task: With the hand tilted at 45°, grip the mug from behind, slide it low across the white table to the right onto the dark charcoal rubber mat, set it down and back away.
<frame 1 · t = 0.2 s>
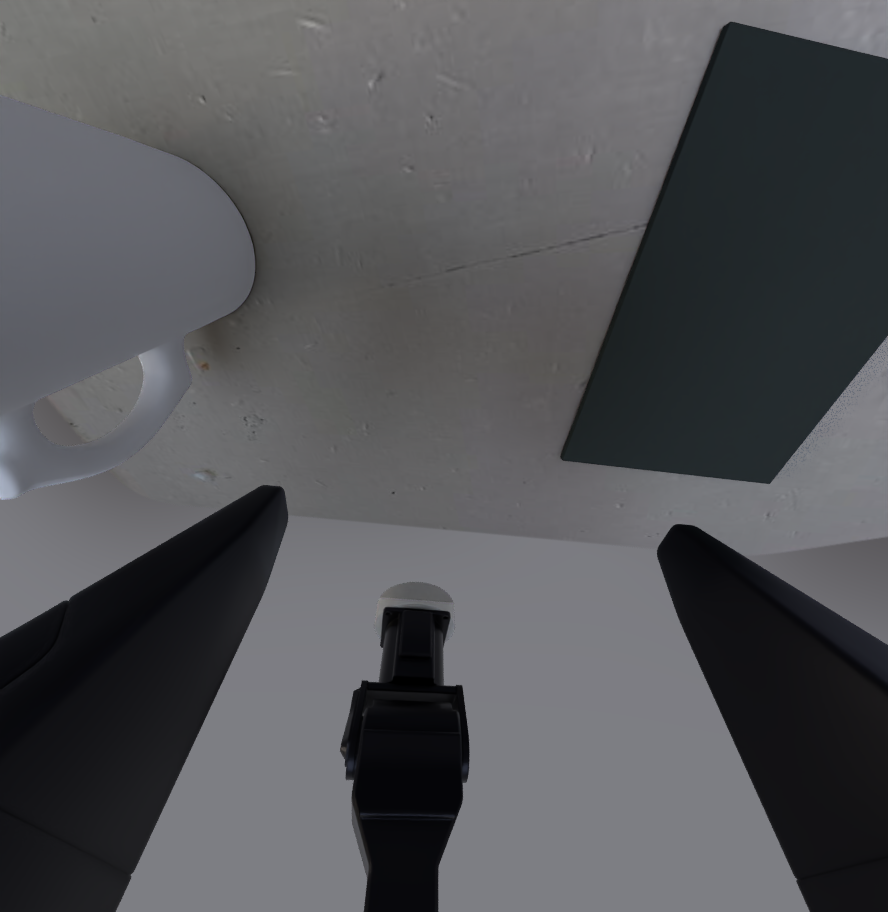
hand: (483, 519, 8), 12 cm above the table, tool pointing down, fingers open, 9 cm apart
mug: (197, 283, 16), on the table
mat: (750, 322, 18), on the table
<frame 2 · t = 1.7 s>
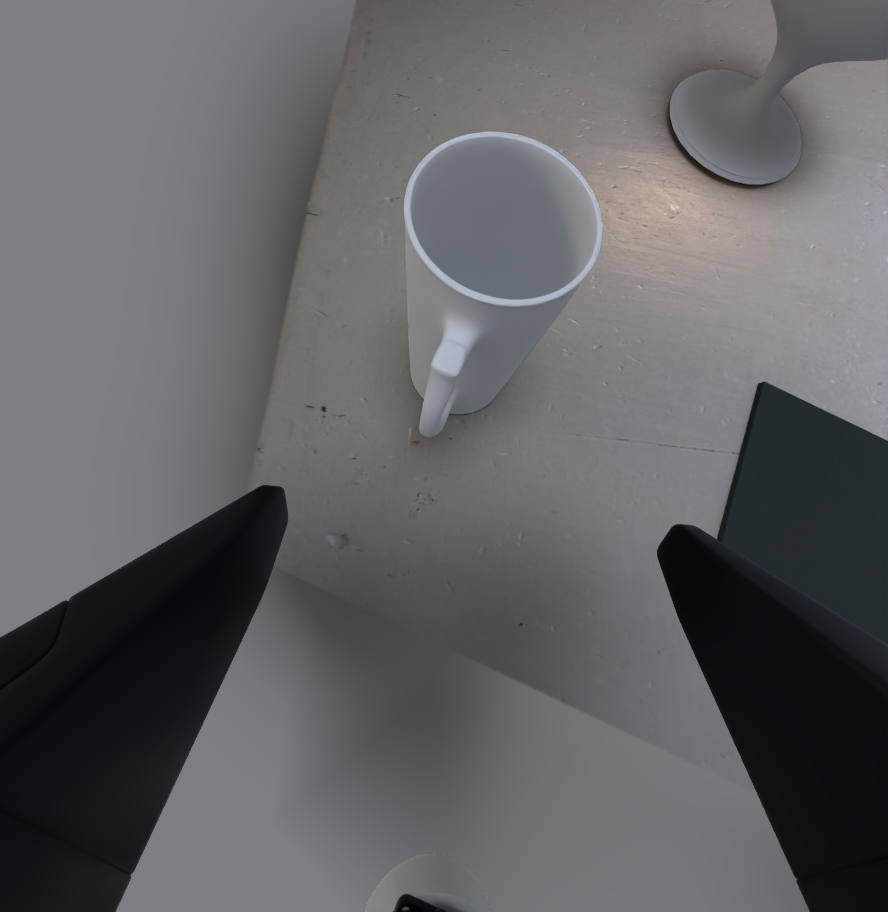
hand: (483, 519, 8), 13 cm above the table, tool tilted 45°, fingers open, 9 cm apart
mug: (447, 392, 23), on the table
chalice: (730, 133, 30), on the table
mat: (822, 539, 24), on the table
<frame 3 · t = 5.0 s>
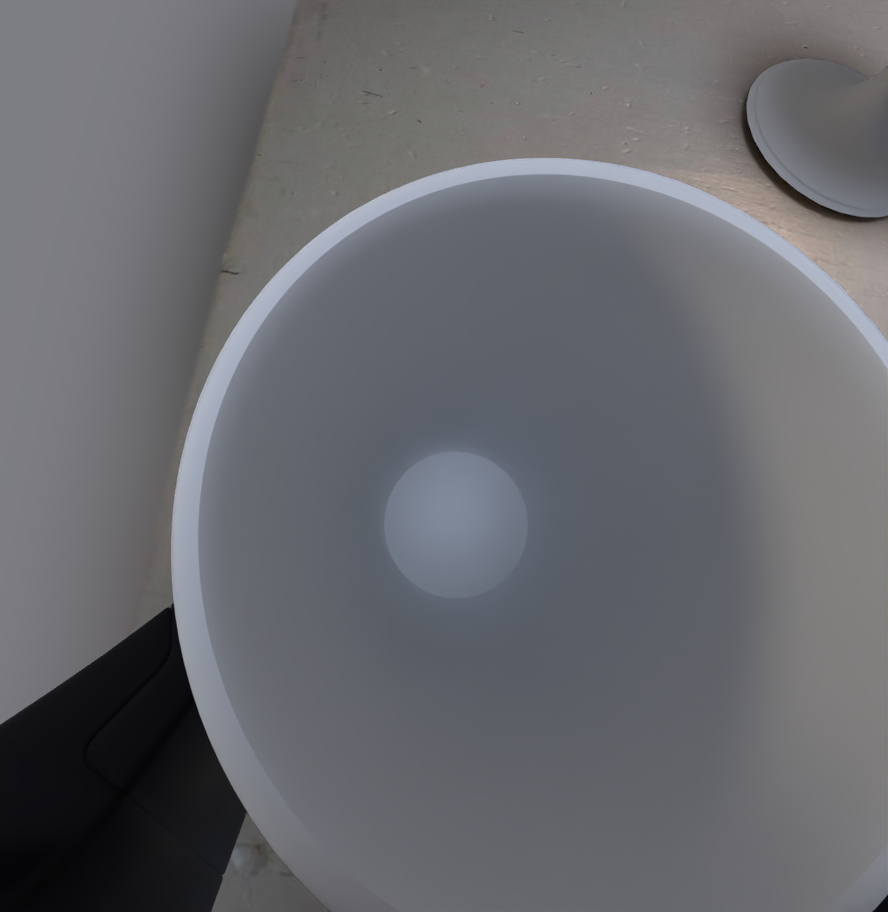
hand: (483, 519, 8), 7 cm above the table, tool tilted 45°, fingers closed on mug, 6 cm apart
mug: (439, 560, 14), on the table, touching gripper
chalice: (825, 145, 22), on the table
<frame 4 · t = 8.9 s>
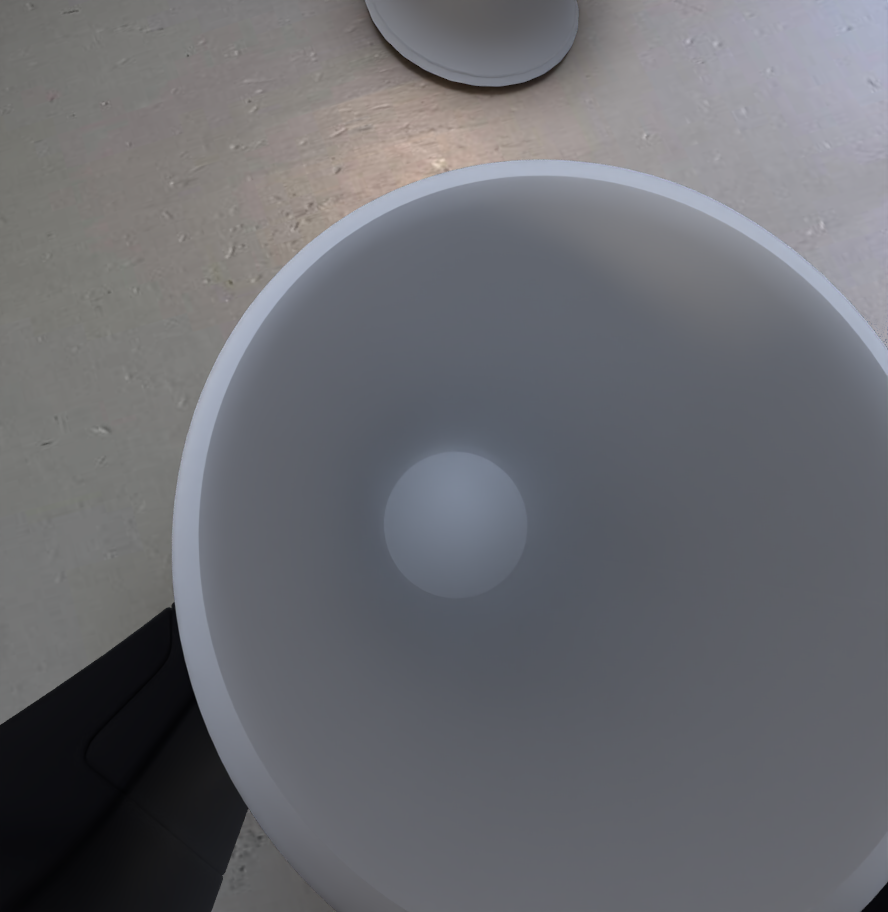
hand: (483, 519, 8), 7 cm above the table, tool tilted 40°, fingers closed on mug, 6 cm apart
mug: (439, 560, 14), point 1 cm above the table, touching gripper
chalice: (472, 11, 20), on the table
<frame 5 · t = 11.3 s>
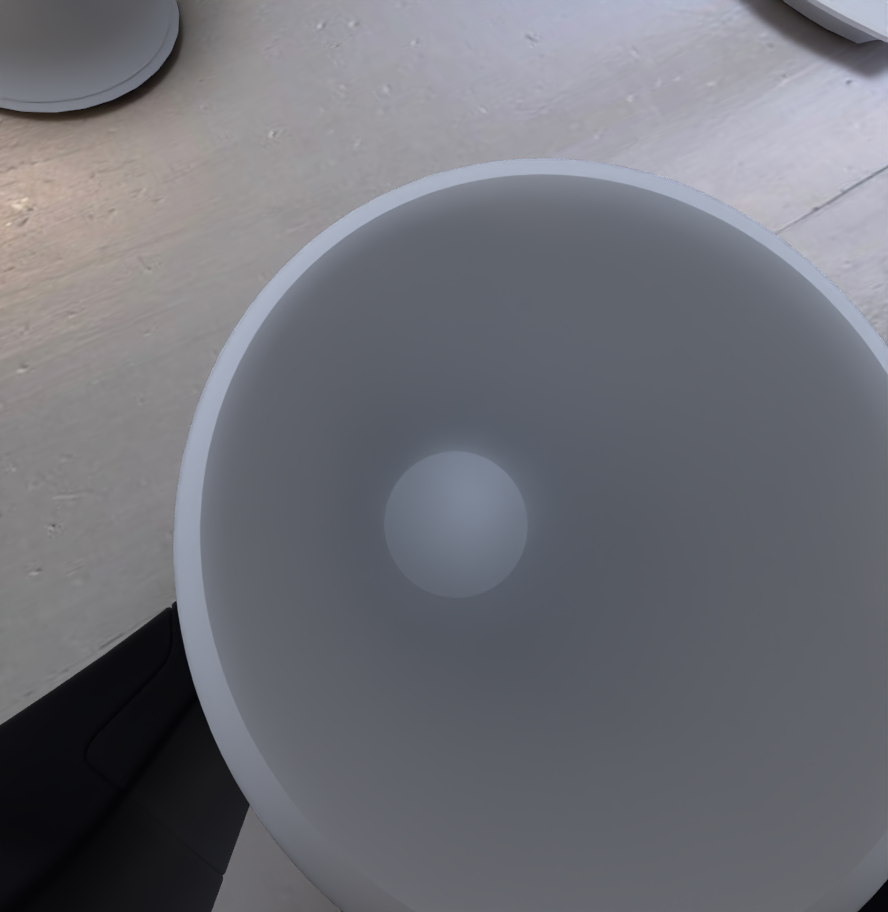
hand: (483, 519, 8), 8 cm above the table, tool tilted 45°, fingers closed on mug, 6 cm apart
mug: (439, 559, 14), point 1 cm above the table, touching gripper
chalice: (62, 32, 18), on the table
when the fingers open (7 cm above the table, at t = 13.2 s): mug stays where it is, resting on mat.
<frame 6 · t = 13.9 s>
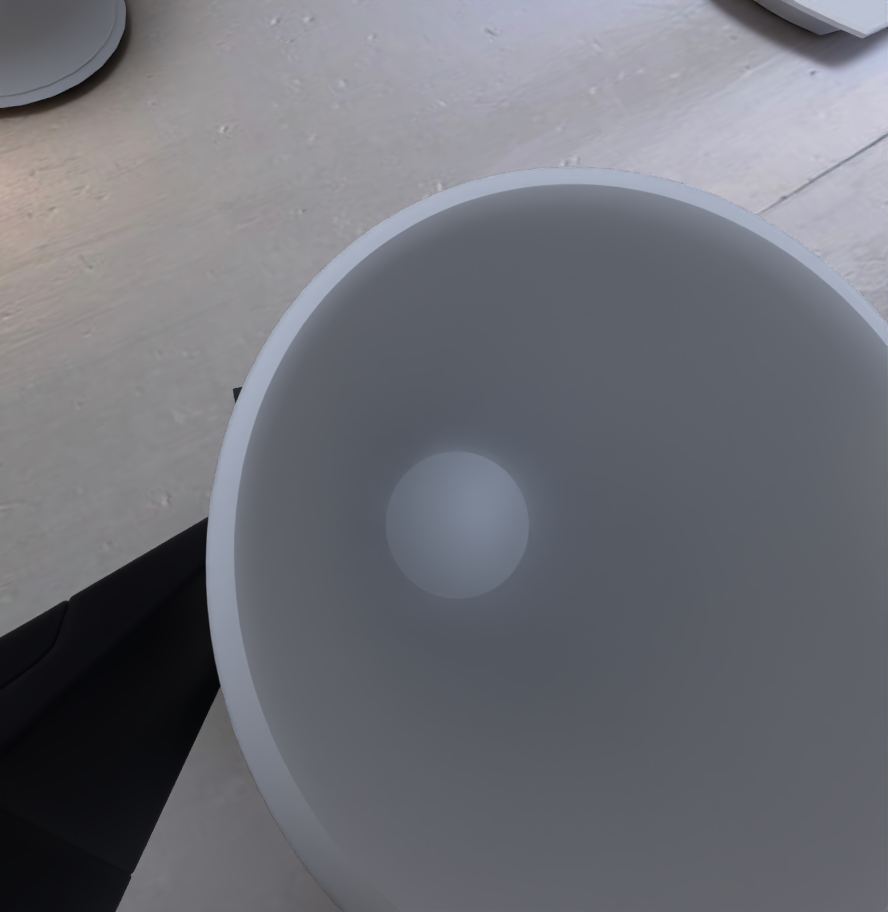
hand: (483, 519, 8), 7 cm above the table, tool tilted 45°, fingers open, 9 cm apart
mug: (441, 560, 14), resting on mat
chalice: (4, 29, 18), on the table
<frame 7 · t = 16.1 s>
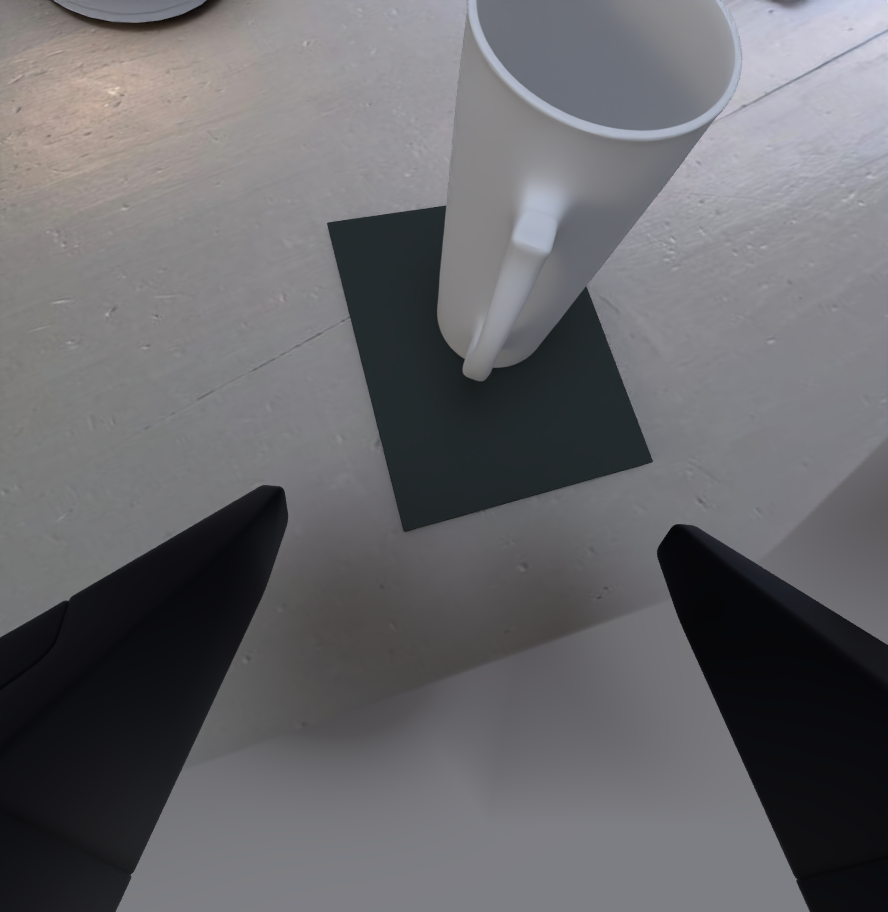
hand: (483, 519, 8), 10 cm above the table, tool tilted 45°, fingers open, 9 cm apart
mug: (481, 344, 20), resting on mat
mat: (484, 342, 20), on the table
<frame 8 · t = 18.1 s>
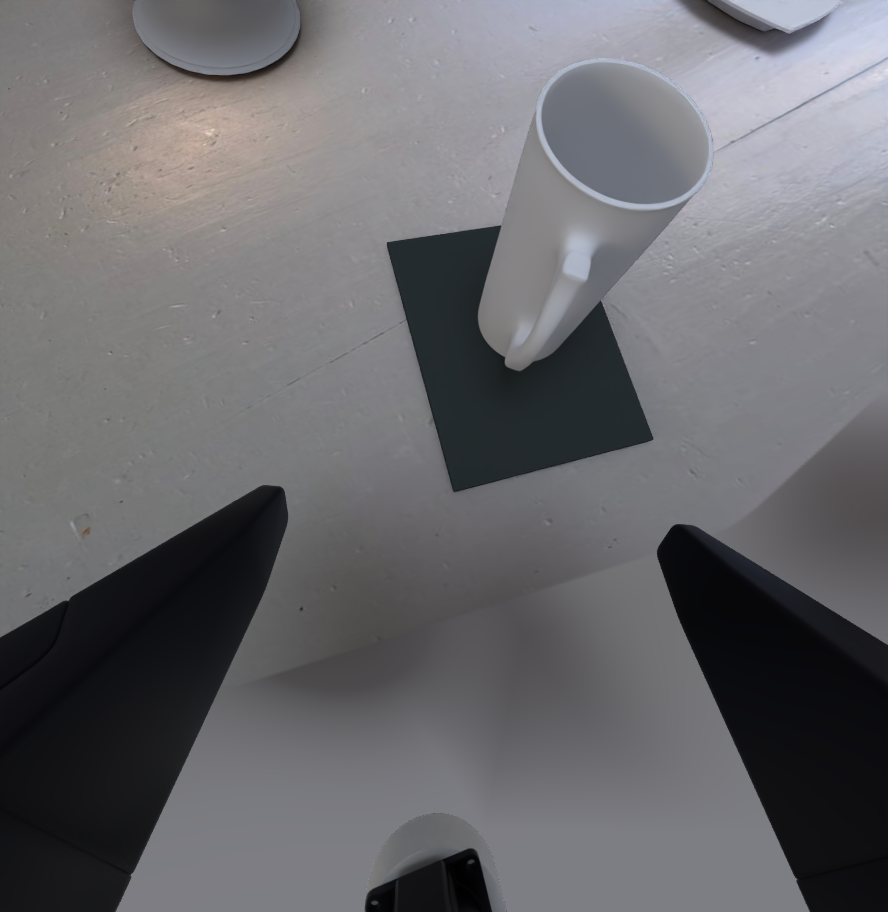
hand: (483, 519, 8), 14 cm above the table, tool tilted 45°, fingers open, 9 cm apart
mug: (513, 342, 24), resting on mat
chalice: (222, 25, 28), on the table
mat: (515, 341, 24), on the table
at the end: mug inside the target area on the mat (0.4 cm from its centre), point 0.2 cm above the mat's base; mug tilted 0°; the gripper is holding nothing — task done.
